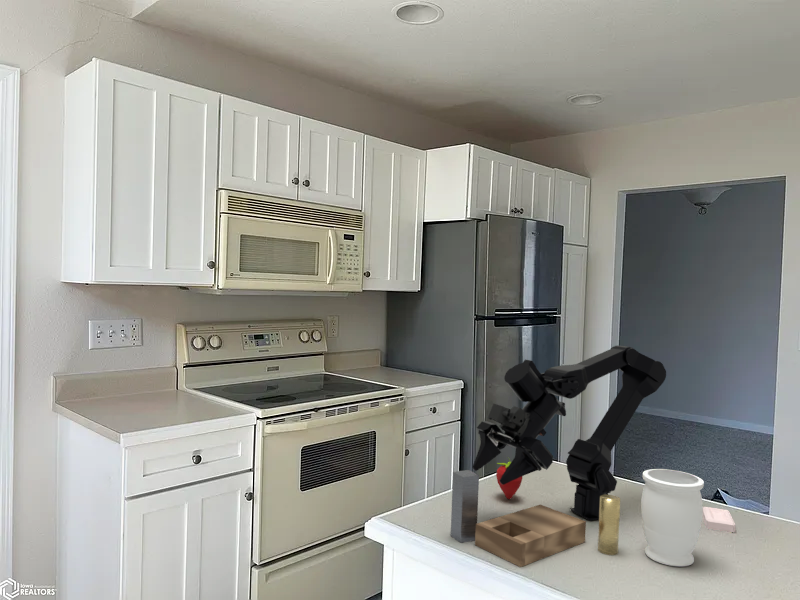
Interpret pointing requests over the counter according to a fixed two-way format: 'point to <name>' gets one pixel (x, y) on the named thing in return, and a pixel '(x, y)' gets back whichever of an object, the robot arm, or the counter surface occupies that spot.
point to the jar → (671, 515)
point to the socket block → (530, 534)
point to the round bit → (609, 524)
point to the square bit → (464, 505)
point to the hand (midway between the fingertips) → (487, 476)
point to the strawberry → (509, 487)
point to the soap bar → (718, 519)
